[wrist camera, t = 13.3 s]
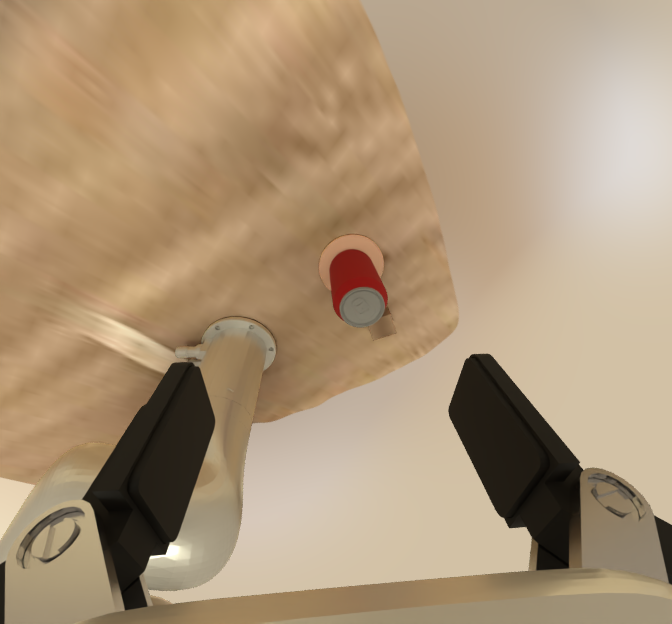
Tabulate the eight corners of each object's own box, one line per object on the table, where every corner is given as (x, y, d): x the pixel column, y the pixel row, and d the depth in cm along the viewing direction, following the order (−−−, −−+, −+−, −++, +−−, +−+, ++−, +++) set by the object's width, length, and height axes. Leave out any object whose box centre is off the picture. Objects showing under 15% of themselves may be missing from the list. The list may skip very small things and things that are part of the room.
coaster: (319, 295, 46) (319, 296, 45) (318, 234, 40) (318, 235, 40) (379, 294, 46) (380, 296, 46) (386, 234, 41) (387, 235, 41)
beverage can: (344, 295, 45) (353, 341, 35) (319, 264, 42) (322, 304, 32) (380, 272, 44) (401, 313, 34) (357, 238, 41) (372, 271, 30)
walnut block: (369, 326, 50) (373, 340, 47) (362, 309, 48) (366, 322, 44) (390, 319, 49) (396, 333, 46) (385, 301, 47) (390, 314, 44)
